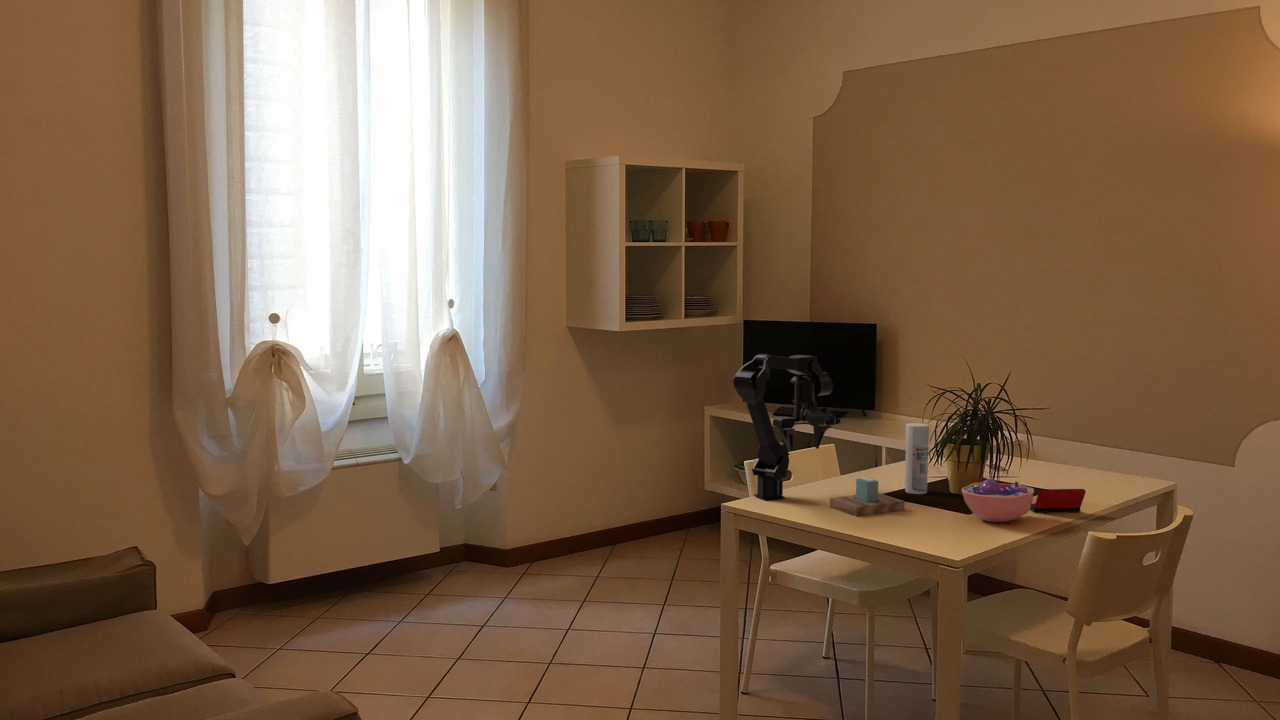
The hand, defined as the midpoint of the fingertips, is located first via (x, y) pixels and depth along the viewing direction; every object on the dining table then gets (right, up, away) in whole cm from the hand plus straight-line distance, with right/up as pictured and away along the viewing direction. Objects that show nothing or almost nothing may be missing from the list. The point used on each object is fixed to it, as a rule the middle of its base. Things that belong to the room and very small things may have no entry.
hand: (803, 449), depth 301 cm
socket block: (+13, -14, -23) cm, 31 cm away
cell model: (+45, -15, -37) cm, 60 cm away
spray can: (+33, -12, -3) cm, 35 cm away
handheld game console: (+63, -15, -27) cm, 71 cm away
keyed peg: (+13, -14, -23) cm, 30 cm away
